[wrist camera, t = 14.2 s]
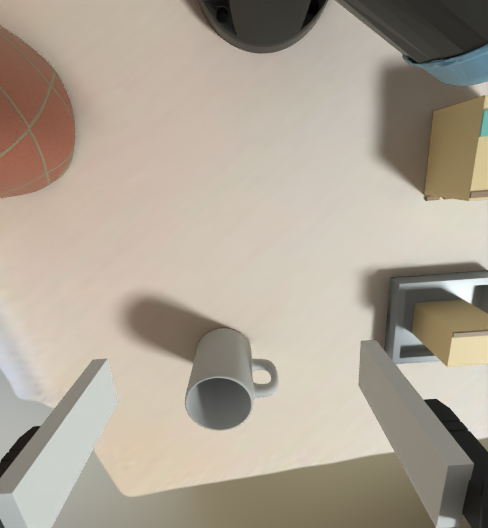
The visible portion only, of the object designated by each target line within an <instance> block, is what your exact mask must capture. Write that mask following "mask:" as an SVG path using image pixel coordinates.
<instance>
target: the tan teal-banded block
mask: <svg viewBox="0 0 488 528" xmlns="http://www.w3.org/2000/svg"><path fill="white" fill-rule="evenodd" d="M424 195H429V196H427V197H426V201H429V200H439V198H440V197H444V199H458V200H466V201H474V200H487V199H488V95H485V96H481V97H478V98H475V99H472V100H468V101H465V102H462V103H459V104H455V105H452V106H449V107H446V108H442V109H439V110H436V111H433V119H432V128H431V137H430V146H429V155H428V164H427V173H426V182H425V191H424Z"/></svg>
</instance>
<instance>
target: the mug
mask: <svg viewBox="0 0 488 528" xmlns="http://www.w3.org/2000/svg"><path fill="white" fill-rule="evenodd" d="M256 370H265V371H268V372H269V373H270V375H271V381H270V382H269V383H267V384H256V383H254V382H253V379H252V372H253V371H256ZM277 387H278V374H277V370H276V368H275V366H274V364H273V363H272V362H271V361H269V360H265V359H252V355H251V347H250V344H249V342H248V340H247V339H246V338H245V337H244V336H243V335H242V334H241V333H239V332H238V331H235V330H233V329H228V328H219V329H215V330H212V331H210V332H208V333H207V334H205V335H204V336H203V337H202V339H201V340H200V342H199V344H198V346H197V350H196V355H195V359H194V363H193V367H192V372H191V376H190V380H189V384H188V388H187V392H186V397H185V407H186V410H187V413H188V415H189V416H190V417H191V419H192V420H193V421H194V422H196V423H197V424H198V425H200V426H202V427H204V428H207V429H210V430H217V431H222V430H229V429H233V428H235V427H237V426H239V425H241V424H242V423H244V422H245V421H246V420H247V419H248V417H249V416H250V414H251V412H252V409H253V401H254V398H260V397H267V396H271V395H273V394H274V393H275V392H276V390H277Z"/></svg>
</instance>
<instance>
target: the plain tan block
mask: <svg viewBox="0 0 488 528" xmlns="http://www.w3.org/2000/svg"><path fill="white" fill-rule="evenodd" d="M412 334H413V335H414V336H415V337H417V338H418V339H419V340H420V341H421V342H422V343H423V344H424V345H425V346H426V347H427V348H428V349H429V350H430V351H431V352H432V353H433V354H434V355H435V356H436V357H437V358H438V359H440V360H441V361H442V362H443V363H444V364H445V365H446V366H447V367H453V366H468V365H483V364H488V314H487V313H486V312H484V311H482V310H481V309H479V308H477V307H475V306H474V305H472V304H470V303H469V302H467V301H465V300H451V301H437V302H423V303H415V310H414V319H413V327H412Z"/></svg>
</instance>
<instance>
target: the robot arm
mask: <svg viewBox="0 0 488 528" xmlns="http://www.w3.org/2000/svg"><path fill="white" fill-rule="evenodd" d="M198 1H199V4H200V6H201V9H202V11H203V13H204V15H205V17H206V18H207V20H208V22H209V23H210V24H211V26H212V27H213V28H214V30H215V31H216V32H217V33H218V34H219V35H220V36H221V37H222V38H223V39H225V40H226V41H227V42H229V43H230V44H232V45H233V46H235V47H237V48H239V49H242V50H245V51H248V52H252V53H272V52H277V51H280V50H283V49H285V48H287V47H289V46H291V45H293V44H295V43H296V42H298V41H299V40H300V39H301V38H303V37H304V36H305V35H306V34H307V33H308V32H309V31H310V30H311V29H312V27H313V26H314V25H315V23H316V22H317V20H318V19H319V17H320V16H321V14H322V12H323V10H324V8H325V6H326V4H327V2H328V0H198ZM335 1H336V2H338V3H339V4H340V5H342V6H343V7H344V8H345V9H347V10H348V11H349V12H350V13H352V14H353V15H354V16H355V17H357V18H358V19H359V20H360V21H362V22H363V23H364V24H366V25H367V26H368V27H369V28H371V29H372V30H373V31H374V32H376V33H377V34H378V35H379V36H381V37H382V38H383V39H384V40H386V41H387V42H388V43H390V44H391V45H392V46H393V47H395V48H396V49H397V50H398V51H400V52H401V53H402V54H403V59H404V60H405V61H406V62H408V63H409V64H410V65H412V66H416V67H419V68H422V69H423V70H425V71H426V72H428V73H429V74H430V75H432V76H433V77H435V78H436V79H438V80H439V81H441V82H443V83H445V84H448V85H458V86H462V85H463V86H470V85H475V84H479V83H483V82H487V81H488V0H335ZM359 387H360V389H361V391H362V393H363V394H364V396H365V398H366V400H367V402H368V404H369V405H370V407H371V409H372V411H373V413H374V415H375V416H376V418H377V420H378V422H379V424H380V426H381V427H382V429H383V431H384V433H385V435H386V437H387V438H388V440H389V442H390V444H391V446H392V448H393V450H394V451H395V453H396V455H397V457H398V459H399V461H400V462H401V464H402V466H403V468H404V470H405V472H406V473H407V475H408V477H409V479H410V481H411V482H412V484H413V486H414V488H415V490H416V492H417V494H418V495H419V497H420V499H421V501H422V503H423V505H424V506H425V508H426V510H427V512H428V514H429V516H430V517H431V519H432V521H433V523H434V525H435V527H436V528H447V527H460V524H461V520H462V516H463V515H464V516H465V518H466V519H467V521H468V523H469V524H470V526H471V527H472V528H488V452H487V450H486V449H485V448H484V447H483V446H482V445H481V444H480V443H479V441H478V440H477V439H476V438H475V437H474V436H473V434H472V433H471V432H469V431H468V429H467V427H466V426H465V425H464V424H463V423H462V422H460V419H459V418H458V417H457V416H456V415H455V414H454V413H453V411H452V410H451V409H450V408H449V407H447V406H446V405H444V404H443V403H441V402H440V401H438V400H437V399H427V400H423V399H422V398H421V396H420V395H419V394H418V392H417V391H416V390H415V389H414V387H413V386H412V385H411V384H410V382H409V381H408V380H407V379H406V377H405V376H404V375H403V374H402V372H401V371H400V370H399V368H398V367H397V366H396V365H395V363H394V362H393V361H392V360H391V358H390V357H389V356H388V355H387V353H386V352H385V351H384V350H383V348H382V347H381V346H380V344H379V343H378V342H377V341H376V340H367V341H361V348H360V366H359ZM117 403H118V397H117V394H116V390H115V386H114V382H113V378H112V374H111V370H110V366H109V362H108V359H96V360H92V362H91V363H90V364H89V365H88V367H87V368H86V369H85V370H84V372H83V373H82V374H81V376H80V377H79V378H78V379H77V381H76V382H75V383H74V385H73V386H72V387H71V388H70V390H69V391H68V392H67V393H66V395H65V396H64V397H63V399H62V400H61V401H60V402H59V404H58V405H57V406H56V408H55V409H54V410H53V411H52V413H51V414H50V415H49V416H48V418H47V419H46V421H45V422H44V423H43V424H42V425H41V426H36V427H32V428H31V429H30V430H29V431H27V432H26V433H25V434H24V435H22V436H21V437H20V438H19V439H18V440H17V442H16V443H15V444H14V445H13V446H12V448H11V449H10V450H9V452H8V453H6V455H5V456H4V457H3V458H2V460H1V462H0V528H51V527H52V526H53V524H54V522H55V520H56V518H57V516H58V514H59V512H60V511H61V509H62V507H63V505H64V503H65V501H66V499H67V497H68V495H69V494H70V492H71V490H72V488H73V486H74V484H75V482H76V480H77V479H78V477H79V475H80V473H81V471H82V469H83V467H84V465H85V463H86V462H87V460H88V458H89V455H90V454H91V452H92V450H93V448H94V447H95V445H96V443H97V441H98V439H99V437H100V435H101V433H102V431H103V430H104V428H105V426H106V424H107V422H108V420H109V418H110V416H111V415H112V413H113V411H114V409H115V407H116V405H117Z"/></svg>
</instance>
